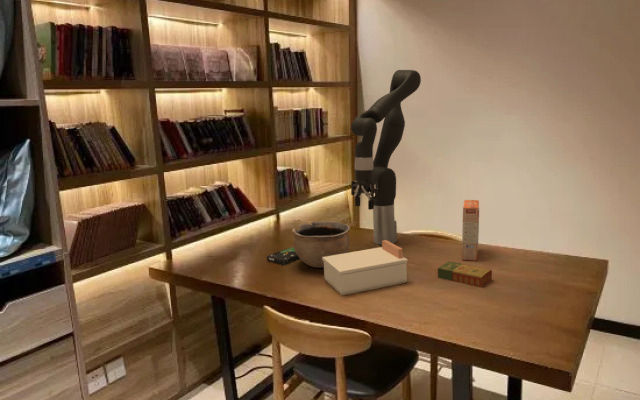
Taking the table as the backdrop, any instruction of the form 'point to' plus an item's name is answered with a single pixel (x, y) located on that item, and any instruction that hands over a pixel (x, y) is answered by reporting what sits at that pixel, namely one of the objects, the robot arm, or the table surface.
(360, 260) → the lid
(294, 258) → the disk drive
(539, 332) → the table surface
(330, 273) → the box
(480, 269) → the carton
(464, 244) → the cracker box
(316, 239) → the ceramic bowl
